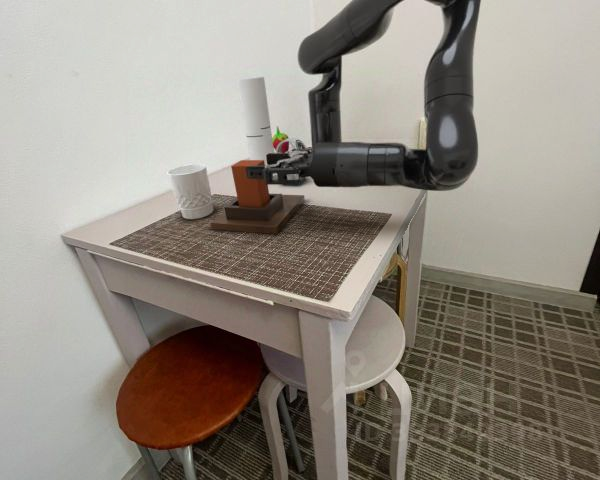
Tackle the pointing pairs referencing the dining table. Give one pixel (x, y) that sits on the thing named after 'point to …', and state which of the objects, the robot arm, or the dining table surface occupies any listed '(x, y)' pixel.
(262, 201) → the brown rectangular block
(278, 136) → the strawberry
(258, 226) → the brown square tray
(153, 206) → the dining table surface
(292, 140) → the watch
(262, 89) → the cylindrical container
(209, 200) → the white cup
